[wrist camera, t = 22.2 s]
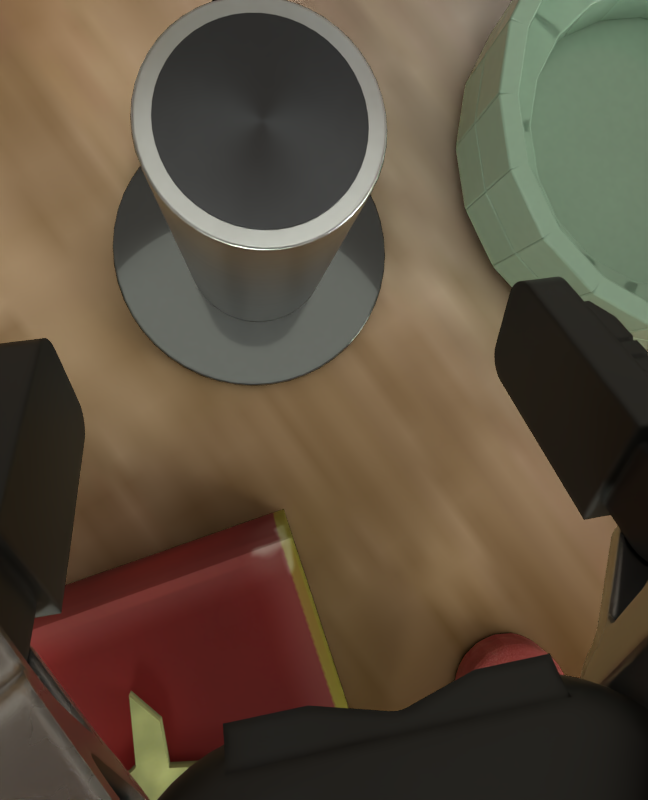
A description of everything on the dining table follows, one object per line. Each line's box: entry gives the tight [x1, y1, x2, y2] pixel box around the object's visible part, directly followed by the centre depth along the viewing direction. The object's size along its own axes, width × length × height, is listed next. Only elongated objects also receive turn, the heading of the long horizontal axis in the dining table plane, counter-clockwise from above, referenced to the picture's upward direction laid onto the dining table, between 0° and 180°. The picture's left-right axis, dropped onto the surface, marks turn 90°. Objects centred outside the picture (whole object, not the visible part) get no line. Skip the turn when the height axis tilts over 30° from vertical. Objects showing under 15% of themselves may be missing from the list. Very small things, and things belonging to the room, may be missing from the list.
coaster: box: [113, 166, 385, 386], centre depth 21 cm, size 10×10×1 cm
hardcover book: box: [30, 509, 349, 800], centre depth 18 cm, size 12×21×4 cm, turn 108°
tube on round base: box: [130, 0, 387, 322], centre depth 16 cm, size 11×5×10 cm, turn 8°
